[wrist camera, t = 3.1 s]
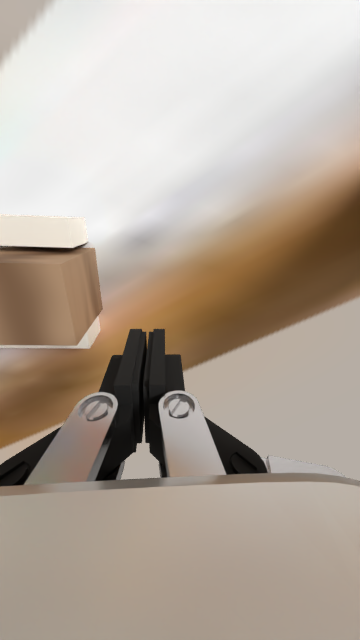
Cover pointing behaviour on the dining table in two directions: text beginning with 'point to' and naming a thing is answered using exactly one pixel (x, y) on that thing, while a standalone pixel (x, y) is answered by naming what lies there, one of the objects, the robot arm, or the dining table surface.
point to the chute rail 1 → (42, 231)
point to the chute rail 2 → (84, 343)
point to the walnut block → (47, 295)
